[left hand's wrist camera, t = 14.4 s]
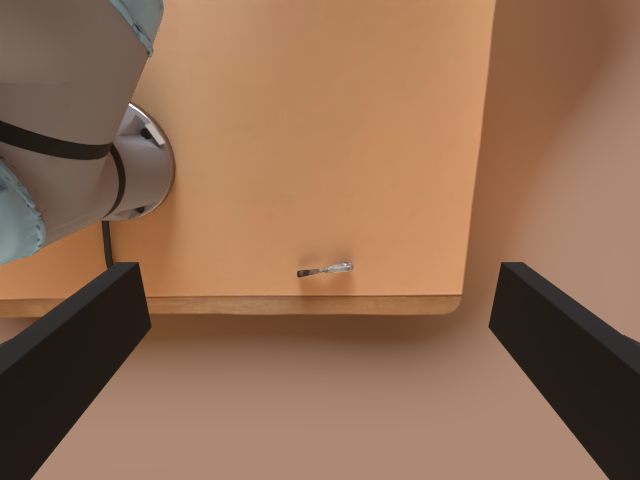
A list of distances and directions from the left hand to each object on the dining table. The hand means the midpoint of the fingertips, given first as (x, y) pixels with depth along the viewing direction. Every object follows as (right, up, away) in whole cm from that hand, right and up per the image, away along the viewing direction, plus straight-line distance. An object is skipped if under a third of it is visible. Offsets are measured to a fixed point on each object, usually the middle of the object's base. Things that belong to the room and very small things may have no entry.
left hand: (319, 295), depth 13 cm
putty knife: (+1, -2, +37) cm, 37 cm away
